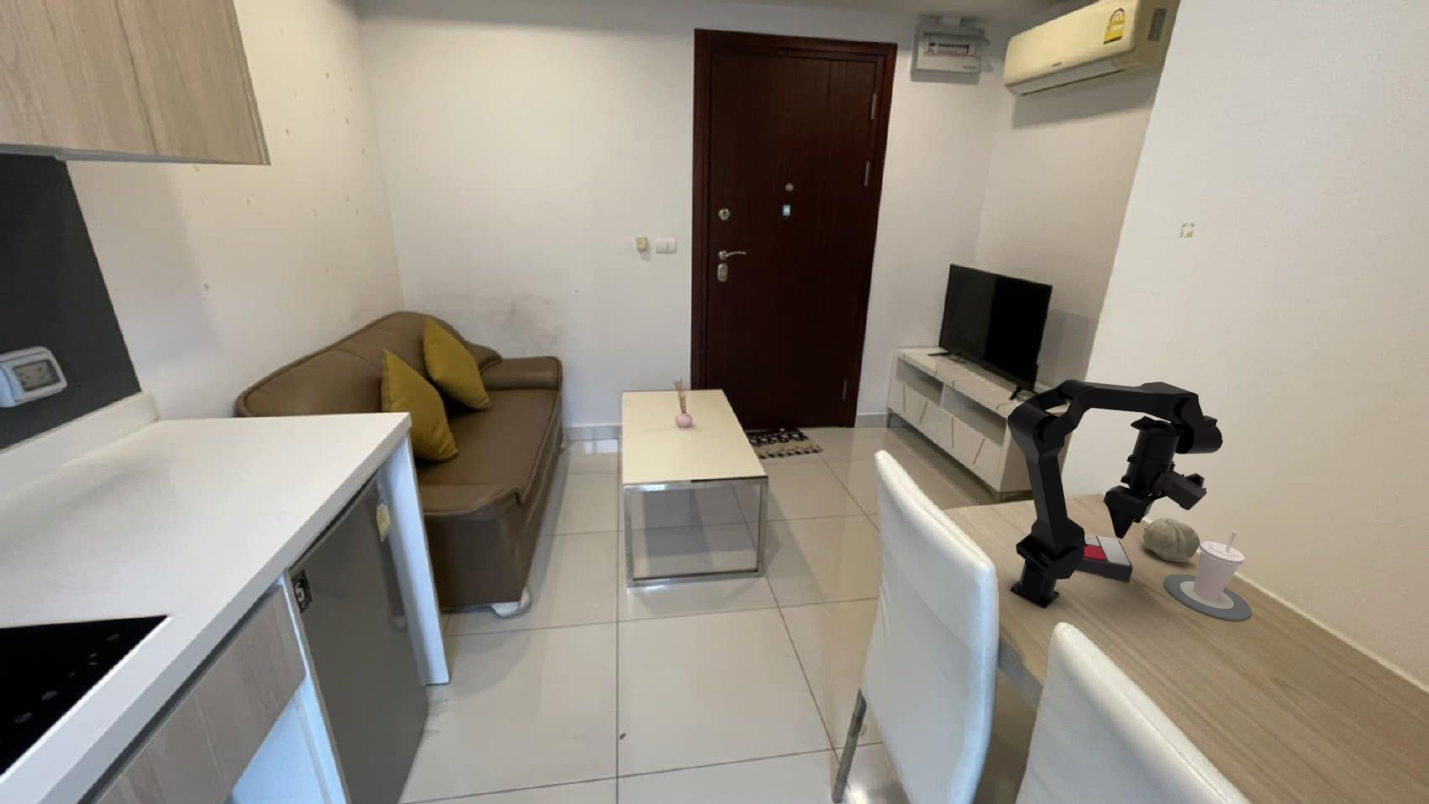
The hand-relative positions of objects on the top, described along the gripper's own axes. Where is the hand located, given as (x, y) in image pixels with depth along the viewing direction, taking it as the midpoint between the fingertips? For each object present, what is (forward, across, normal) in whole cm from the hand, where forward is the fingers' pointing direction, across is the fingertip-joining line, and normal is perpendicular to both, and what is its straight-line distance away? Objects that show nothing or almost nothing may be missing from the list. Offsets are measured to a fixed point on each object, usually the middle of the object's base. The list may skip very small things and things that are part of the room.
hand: (1127, 529), depth 106 cm
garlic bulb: (+13, +23, -3) cm, 27 cm away
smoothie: (+12, +12, -12) cm, 22 cm away
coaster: (+13, +12, -12) cm, 22 cm away
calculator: (+14, +7, +7) cm, 17 cm away
